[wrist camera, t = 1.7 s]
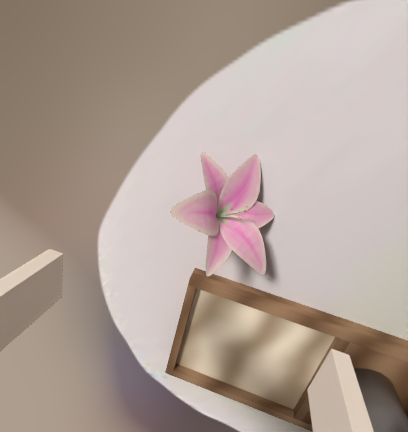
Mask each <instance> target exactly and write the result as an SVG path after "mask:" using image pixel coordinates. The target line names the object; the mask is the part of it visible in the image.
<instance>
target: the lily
mask: <svg viewBox="0 0 408 432" xmlns="http://www.w3.org/2000/svg"><path fill="white" fill-rule="evenodd" d="M201 161H202V168H203V175H204V181H205V186H206V191H203V192H201V193H198V194H196V195H194V196H191V197H189V198H187V199H185V200H183V201H181V202H179V203H178V204H176V205H175V206H173V207H172V208H171V210H170V213H171V214H172V216H173V217H175V218H176V219H177V220H179V221H181V222H183V223H184V224H186V225H188V226H190V227H192V228H194V229H196V230H198V231H200V232H202V233H204V234H207V235H208V245H207V257H206V275H207V276H211V275H212V274H213V273H214V272H215V271H216V270H217V269H218V268H219V267H220V266H221V265H222V264H223V263H224V262H225V261H226V259H227V258H228V257H229V255H230V254H231V252H232V250H233V251H234V252H235V253H236V254H237V255H238V256H239V257H240V258H242V259H243V260H244V261H245V262H246V263H247V264H249V265H250V266H251V267H252V268H253V269H254V270H255V271H257V272H258V273H259V274H261V275H265V273H266V254H265V247H264V242H263V238H262V235H261V233H260V231H259V229H258V228H260V227H262V226H264V225H265V224H267V223H268V222H270V221H271V220H272V219H273V218H274V212H273V211H272V210H271V209H270V208H268V207H267V206H266V205H264V204H263V203H261V202H259V201H257V198H258V195H259V191H260V184H261V168H260V160H259V158H258V156H257V155H253V156H252V157H250V158H249V159H248V160H247V161H246V162H244V163H243V164H242V165H241V166H240V167H239V168H238V169H237V170H235V172H234V173H233V174H232V175H231V176H230V177H229V178H228V176H227V175H226V173H225V172H224V171H223V169H222V168H221V167H220V166H219V165H218V164H217V163H216V162H215V161H214V160H213V159H212V158H211V157H210V156H208V155H207V154H206V153H203V152H202V153H201Z"/></svg>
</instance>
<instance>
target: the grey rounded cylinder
mask: <svg viewBox="0 0 408 432" xmlns="http://www.w3.org/2000/svg"><path fill="white" fill-rule="evenodd" d="M354 371H355V375H356V378H357V381H358V384H359V387H360V390H361V393H362V396H363V399H364V403H365V406H366V409H367V412H368V415H369V418H370V421H371V424H372V428H373V431H374V432H408V416H407V414H406V412H405V409H404V407H403V405H402V403H401V400H400V398H399V396H398V394H397V391H396V389H395V387H394V385H393V383H392V382H391V380H390V379H389V378H388V377H386V376H385V375H383V374H382V373H380V372H377V371H374V370H371V369H364V368H356V369H354Z"/></svg>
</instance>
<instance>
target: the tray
mask: <svg viewBox="0 0 408 432" xmlns="http://www.w3.org/2000/svg"><path fill="white" fill-rule="evenodd" d="M331 349H334V350H337V351H340V352H342V353H345V354H348V355H349V356H350V359H351V362H352V365H353V368H354V369H356V368H364V369H371V370H374V371H377V372H380V373H382V374H383V375H385V376H386V377H388V378H389V379H390V380H391V382H392V383H393V385H394V387H395V389H396V391H397V394H398V396H399V398H400V400H401V403H402V405H403V407H404V409H405V412H406V414H407V416H408V341H407V340H404V339H401V338H398V337H395V336H392V335H389V334H386V333H384V332H381V331H378V330H375V329H372V328H369V327H366V326H363V325H360V324H357V323H354V322H351V321H348V320H346V319H343V318H340V317H337V316H334V315H331V314H328V313H325V312H322V311H319V310H316V309H313V308H310V307H308V306H305V305H302V304H299V303H296V302H293V301H290V300H287V299H284V298H281V297H278V296H275V295H272V294H270V293H267V292H264V291H261V290H258V289H255V288H252V287H249V286H246V285H243V284H240V283H237V282H234V281H232V280H229V279H226V278H223V277H220V276H217V275H214V274H212V275H211V276H207V275H206V272H205V271H202V270H199V269H196V268H195V269H194V271H193V273H192V275H191V277H190V280H189V284H188V288H187V292H186V295H185V299H184V303H183V307H182V311H181V315H180V318H179V322H178V326H177V330H176V334H175V338H174V341H173V345H172V349H171V353H170V357H169V361H168V364H167V368H166V372H165V373H167V374H170V375H172V376H175V377H177V378H180V379H182V380H185V381H187V382H190V383H192V384H195V385H197V386H200V387H202V388H205V389H207V390H210V391H212V392H215V393H217V394H220V395H223V396H225V397H228V398H230V399H233V400H235V401H238V402H240V403H243V404H245V405H248V406H250V407H253V408H255V409H258V410H260V411H263V412H265V413H268V414H270V415H273V416H275V417H278V418H280V419H283V420H285V421H288V422H290V423H293V424H295V425H298V426H300V427H303V428H305V429H308V430H310V431H313V429H312V421H311V413H310V406H309V398H308V390H307V389H308V388H309V386H310V384H311V383H312V381H313V379H314V377H315V376H316V374H317V372H318V371H319V369H320V367H321V365H322V364H323V362H324V360H325V359H326V357H327V355H328V353H329V352H330V350H331Z"/></svg>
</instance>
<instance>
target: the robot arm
mask: <svg viewBox="0 0 408 432" xmlns="http://www.w3.org/2000/svg"><path fill="white" fill-rule="evenodd" d="M62 273H63V254H62V253H60V252H57V251H54V250H51V249H49V250H47V251H45V252H44V253H42V254H40V255H39V256H37V257H36V258H34V259H32V260H31V261H29V262H28V263H26V264H24V265H23V266H21V267H19V268H18V269H16V270H14V271H13V272H11V273H10V274H8V275H7V276H5V277H3V278H2V279H0V351H1V350H2V349H4V348H5V347H6V346H7V345H8V344H9V343H10V342H11V341H12V340H14V339H15V338H16V337H17V336H18V335H19V334H21V333H22V332H23V331H24V330H25V329H26V328H27V327H29V326H30V325H31V324H32V323H33V322H34V321H35V320H37V319H38V318H39V317H40V316H41V315H42V314H43V313H44V312H46V311H47V310H48V309H49V308H50V307H51V306H52V305H54V304H55V303H56V302H57V301H58V300H59V299H60V298H62V277H63V274H62ZM307 390H308V398H309V406H310V413H311V421H312V429H313V432H374V431H373V428H372V424H371V421H370V418H369V415H368V412H367V409H366V406H365V403H364V399H363V396H362V393H361V390H360V387H359V384H358V381H357V378H356V375H355V371H354V368H353V365H352V362H351V359H350V356H349V355H348V354H345V353H342V352H340V351H337V350H334V349H331V350H330V352H329V353H328V355H327V357H326V359H325V360H324V362H323V364H322V365H321V367H320V369H319V371H318V372H317V374H316V376H315V377H314V379H313V381H312V383H311V384H310V386H309V388H308V389H307Z"/></svg>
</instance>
